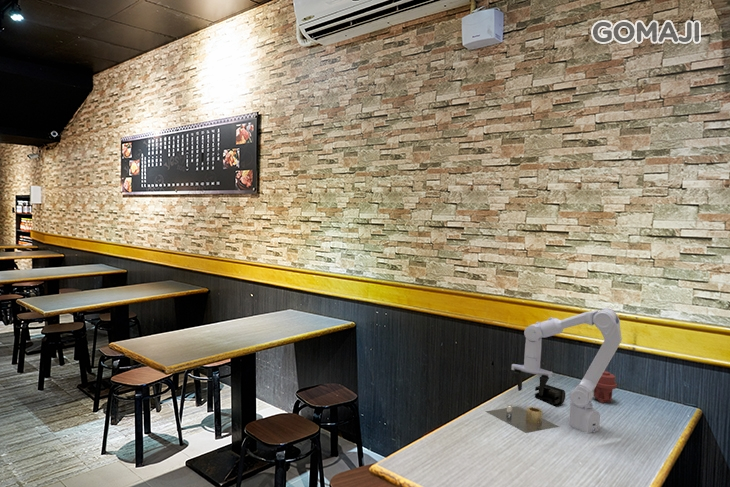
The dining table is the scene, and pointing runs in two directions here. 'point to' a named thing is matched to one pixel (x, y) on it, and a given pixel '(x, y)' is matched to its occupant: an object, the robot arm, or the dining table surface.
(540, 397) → the end cap
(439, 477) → the dining table surface
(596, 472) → the dining table surface
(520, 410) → the shaft stand
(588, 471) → the dining table surface
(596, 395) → the mechanical component
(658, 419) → the dining table surface
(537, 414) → the bronze hub
